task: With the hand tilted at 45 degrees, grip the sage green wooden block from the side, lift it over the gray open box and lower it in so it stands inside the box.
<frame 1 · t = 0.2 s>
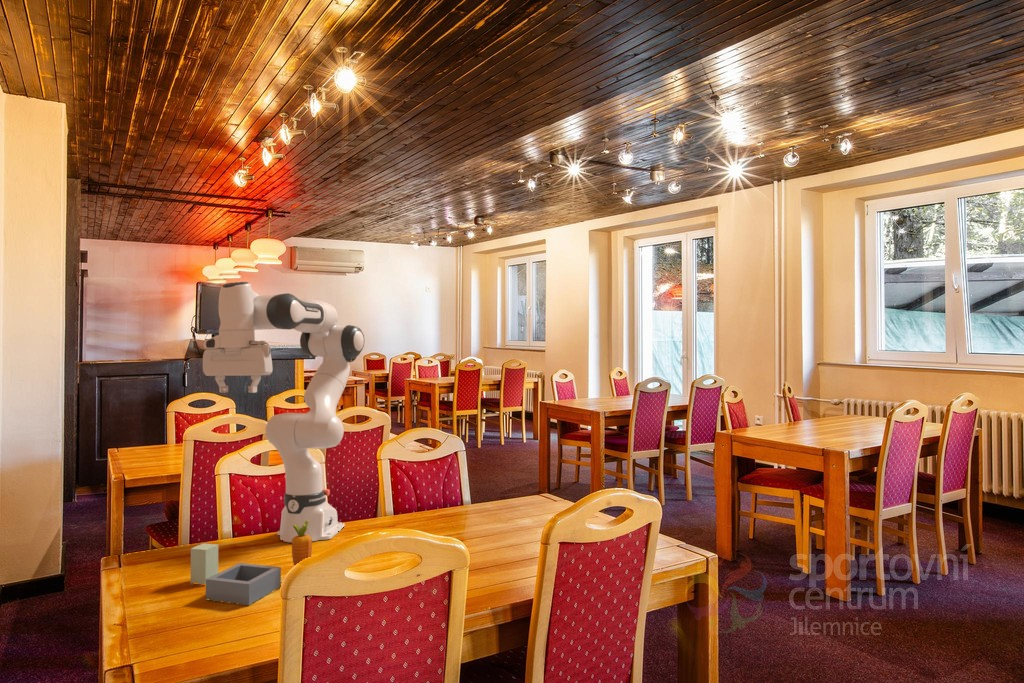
hand: (238, 392, 174), 48 cm above the table, tool pointing down, fingers open, 8 cm apart
sage block: (204, 581, 164), on the table
gray open box: (244, 593, 156), on the table
carrot: (301, 580, 166), on the table
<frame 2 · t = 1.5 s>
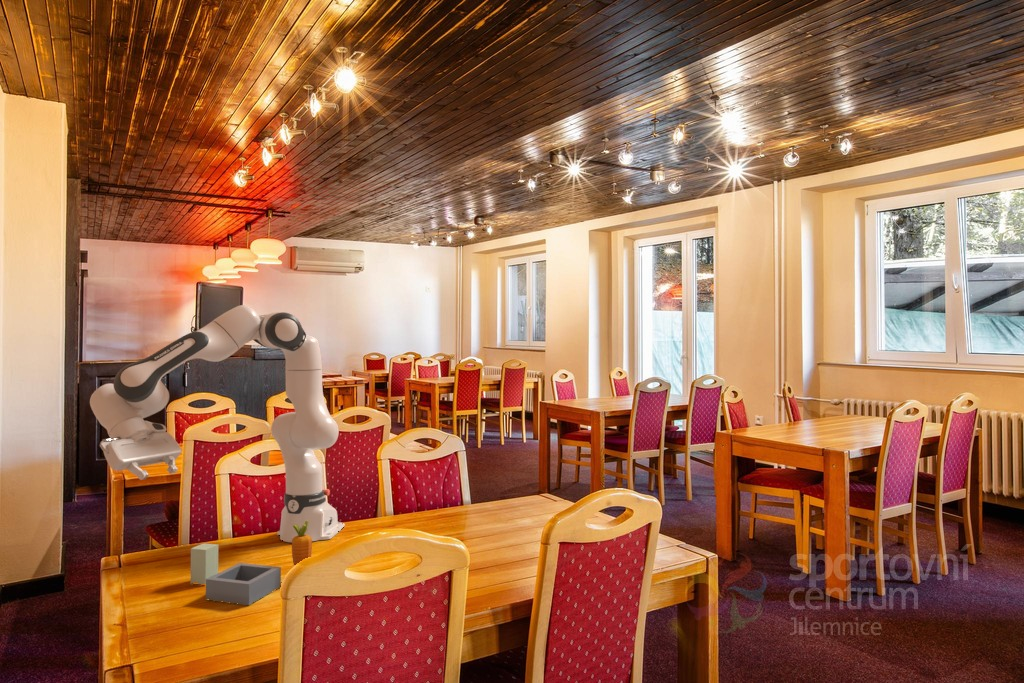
hand: (160, 474, 169), 26 cm above the table, tool tilted 45°, fingers open, 8 cm apart
nothing on the table moved.
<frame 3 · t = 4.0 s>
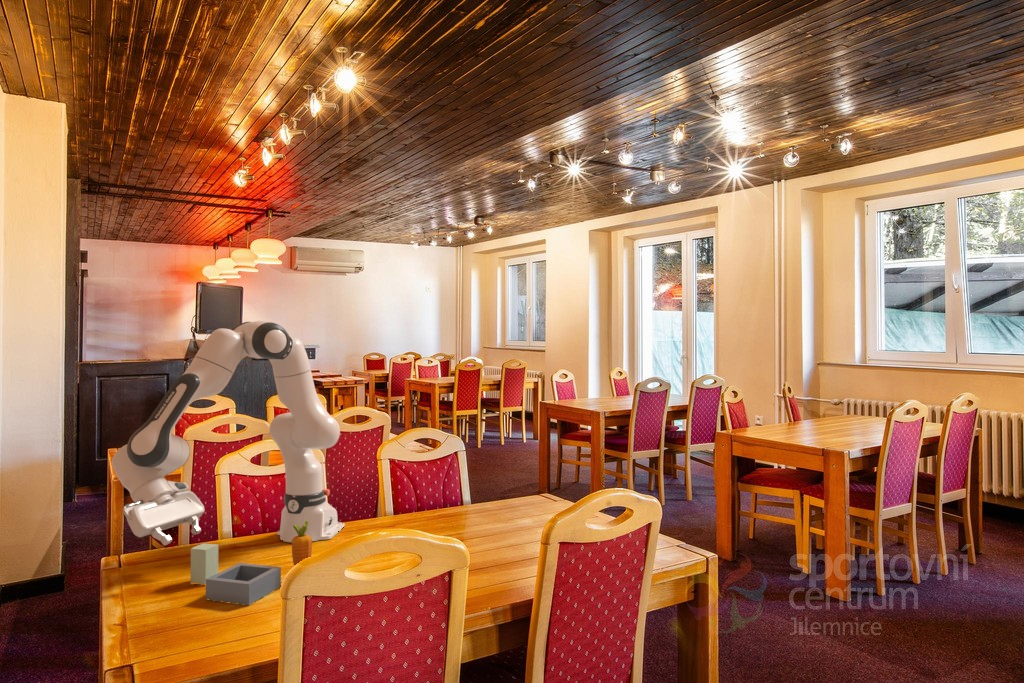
hand: (183, 537, 166), 11 cm above the table, tool tilted 45°, fingers open, 8 cm apart
nothing on the table moved.
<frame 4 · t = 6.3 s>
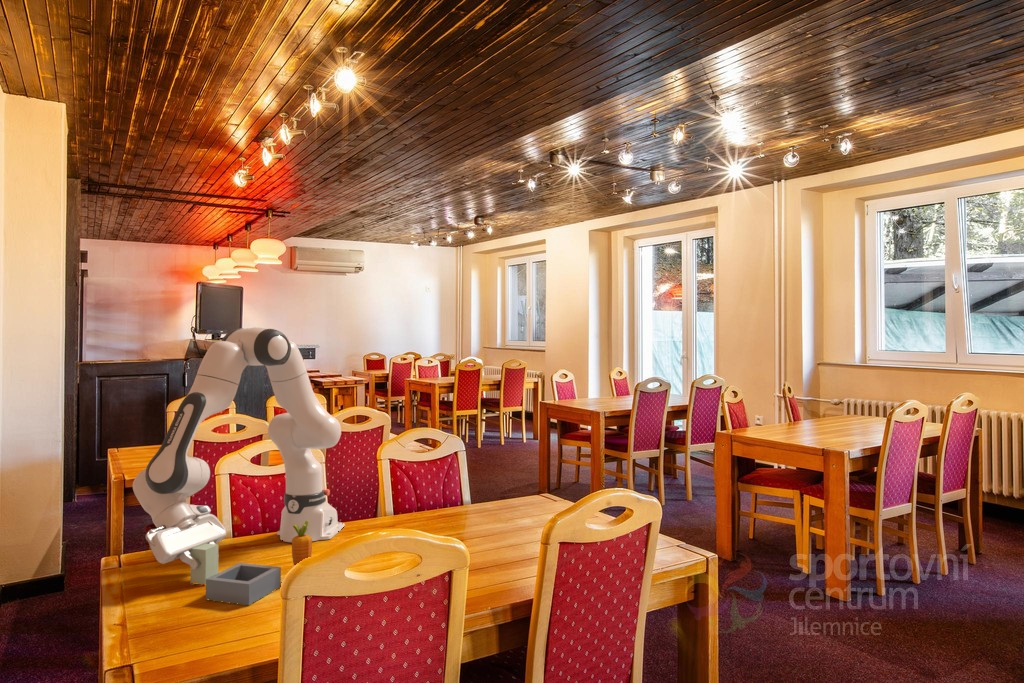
hand: (206, 563, 164), 5 cm above the table, tool tilted 45°, fingers closed on sage block, 5 cm apart
sage block: (204, 581, 164), on the table, touching gripper
everything else where it was.
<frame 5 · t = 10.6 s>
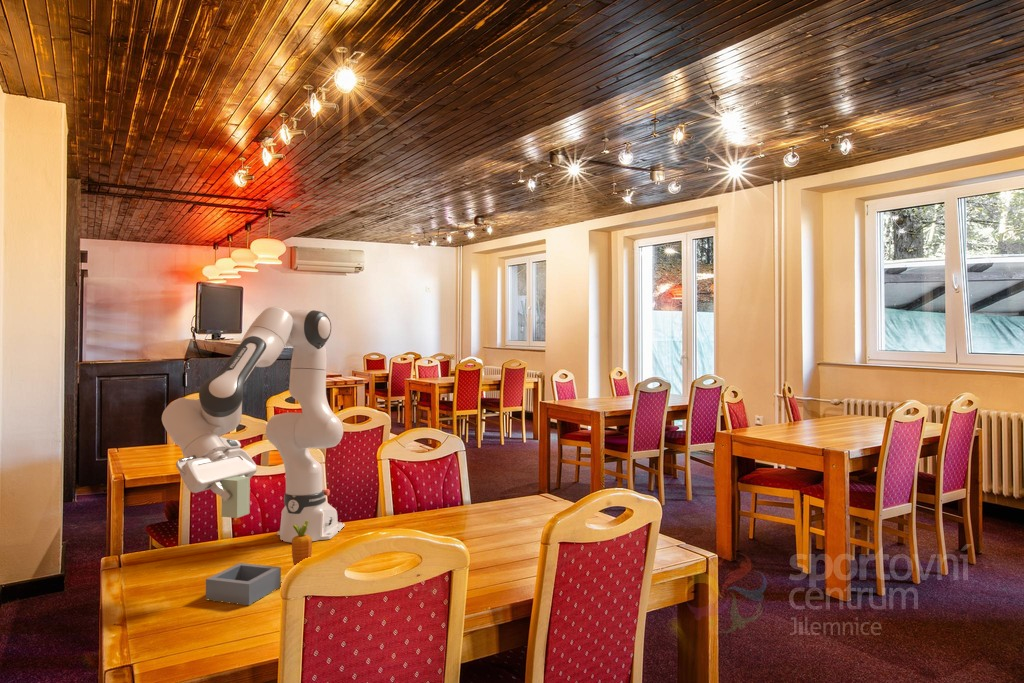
hand: (238, 495, 158), 24 cm above the table, tool tilted 45°, fingers closed on sage block, 5 cm apart
sage block: (235, 515, 158), point 19 cm above the table, touching gripper
everything else where it was.
when the fingers open (7 cm above the table, at t = 15.2 s): sage block drops 1 cm, resting on gray open box.
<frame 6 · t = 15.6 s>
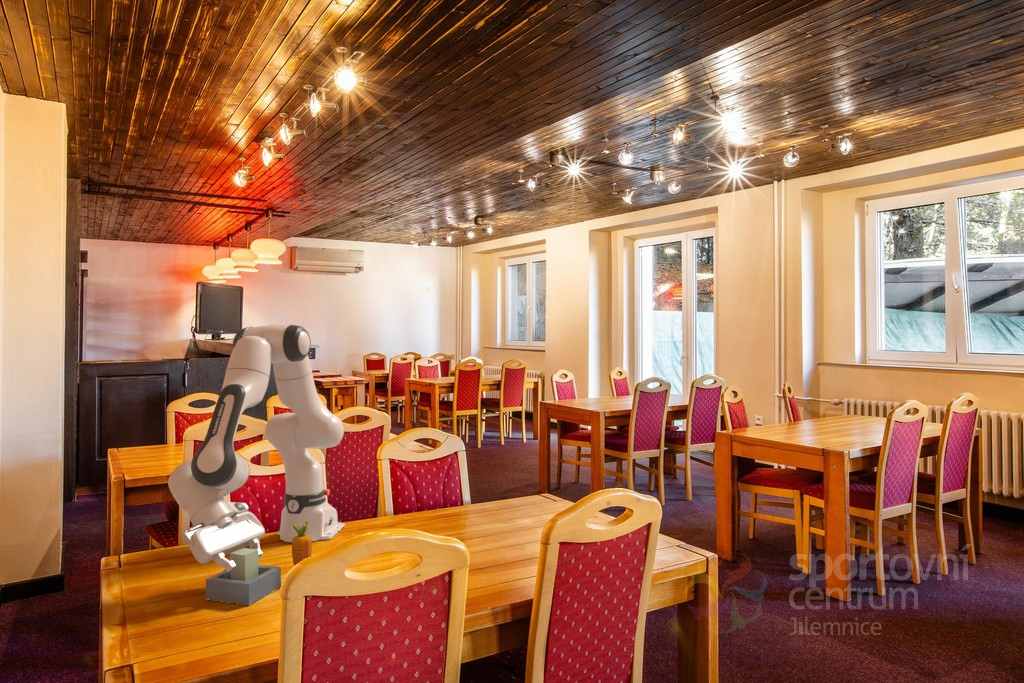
hand: (246, 563, 156), 7 cm above the table, tool tilted 45°, fingers open, 8 cm apart
sage block: (244, 588, 156), point 1 cm above the table, touching gray open box
everything else where it was.
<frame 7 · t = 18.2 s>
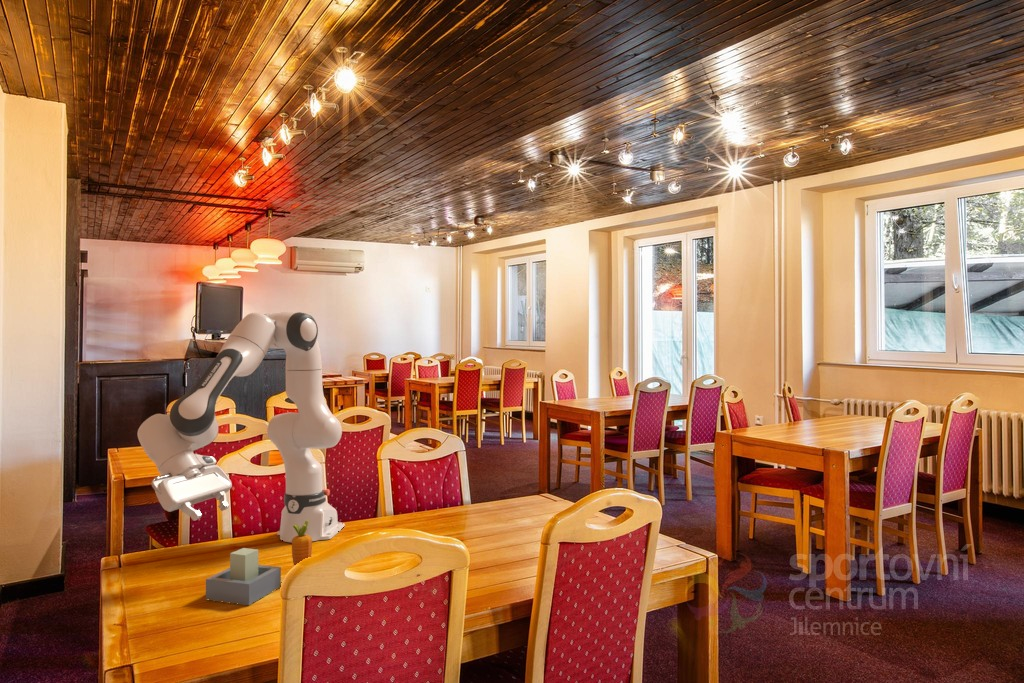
hand: (212, 513, 160), 18 cm above the table, tool tilted 40°, fingers open, 8 cm apart
nothing on the table moved.
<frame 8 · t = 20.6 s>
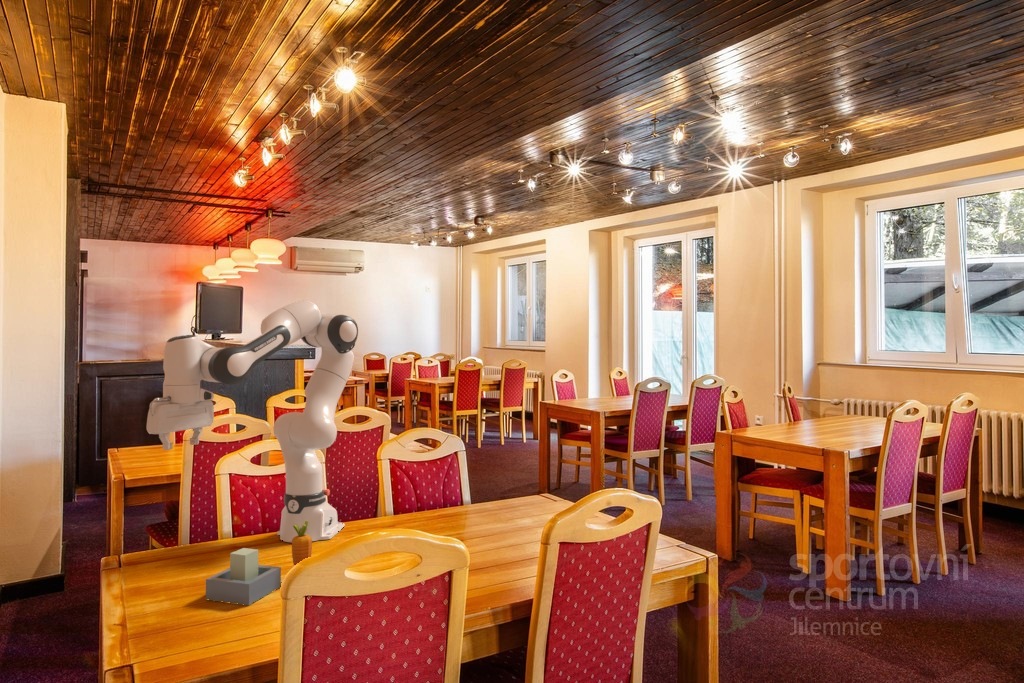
hand: (181, 447, 172), 33 cm above the table, tool pointing down, fingers open, 8 cm apart
nothing on the table moved.
at the end: sage block 0.0 cm off-centre on the gray open box, point 1.2 cm above the gray open box's base; sage block tilted 0°; the gripper is holding nothing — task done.
